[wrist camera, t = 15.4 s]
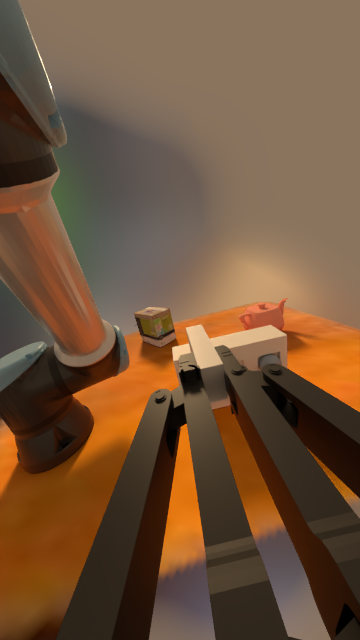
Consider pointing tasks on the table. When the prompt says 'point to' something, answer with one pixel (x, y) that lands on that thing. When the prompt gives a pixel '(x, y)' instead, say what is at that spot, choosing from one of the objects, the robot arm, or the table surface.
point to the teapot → (263, 316)
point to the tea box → (155, 326)
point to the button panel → (244, 350)
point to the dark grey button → (268, 360)
